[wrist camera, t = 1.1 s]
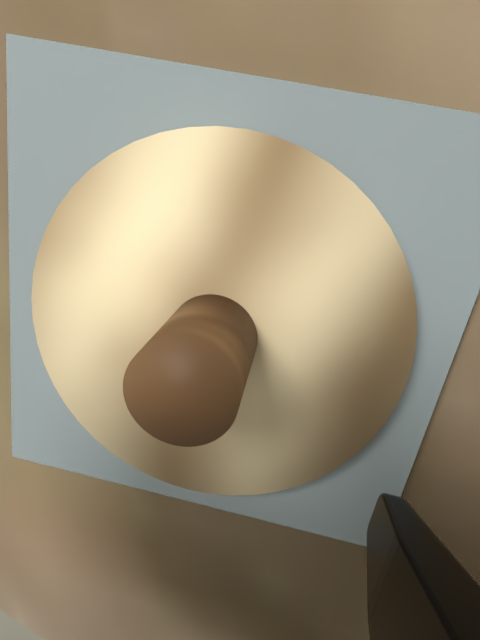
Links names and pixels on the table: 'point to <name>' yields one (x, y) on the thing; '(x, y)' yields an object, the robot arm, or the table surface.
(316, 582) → the table surface
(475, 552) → the table surface
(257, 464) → the lid
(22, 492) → the table surface
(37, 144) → the mat
